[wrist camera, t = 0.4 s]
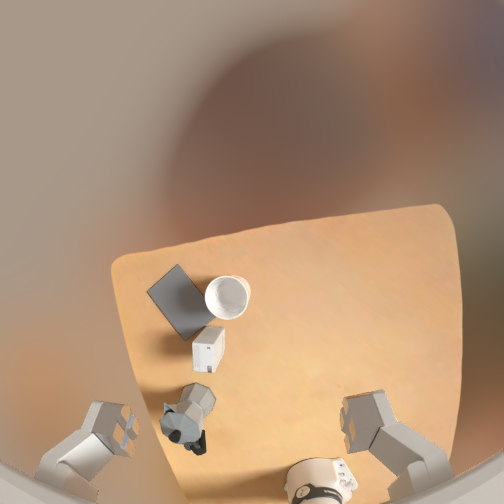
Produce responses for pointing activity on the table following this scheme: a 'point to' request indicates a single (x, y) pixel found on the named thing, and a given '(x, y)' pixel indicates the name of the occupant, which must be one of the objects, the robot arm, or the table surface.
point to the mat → (181, 302)
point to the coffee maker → (188, 417)
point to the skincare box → (208, 349)
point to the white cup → (227, 296)
